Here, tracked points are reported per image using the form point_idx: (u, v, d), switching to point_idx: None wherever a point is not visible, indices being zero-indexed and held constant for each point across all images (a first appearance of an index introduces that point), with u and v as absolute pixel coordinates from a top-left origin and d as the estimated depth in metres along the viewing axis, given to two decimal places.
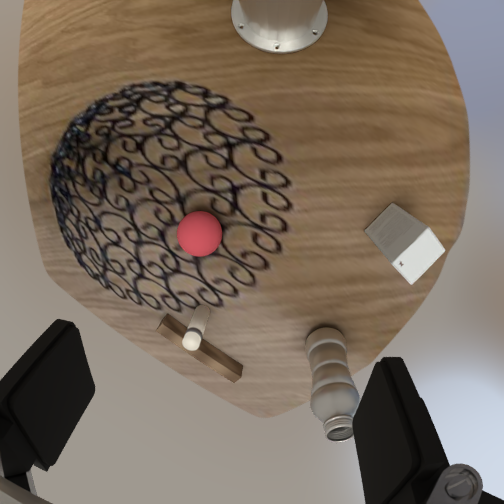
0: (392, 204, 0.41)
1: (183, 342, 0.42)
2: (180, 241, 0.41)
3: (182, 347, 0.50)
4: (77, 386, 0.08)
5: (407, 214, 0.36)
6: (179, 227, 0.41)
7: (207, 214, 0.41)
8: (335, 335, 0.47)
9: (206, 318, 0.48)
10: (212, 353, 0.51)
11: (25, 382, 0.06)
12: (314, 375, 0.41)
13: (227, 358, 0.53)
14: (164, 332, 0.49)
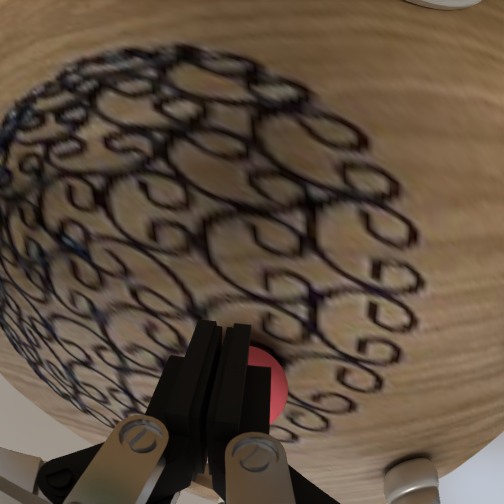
0: None
1: None
2: None
3: (208, 494, 0.27)
4: None
5: None
6: None
7: (260, 363, 0.18)
8: (429, 473, 0.24)
9: None
10: None
11: (200, 389, 0.07)
12: None
13: None
14: None
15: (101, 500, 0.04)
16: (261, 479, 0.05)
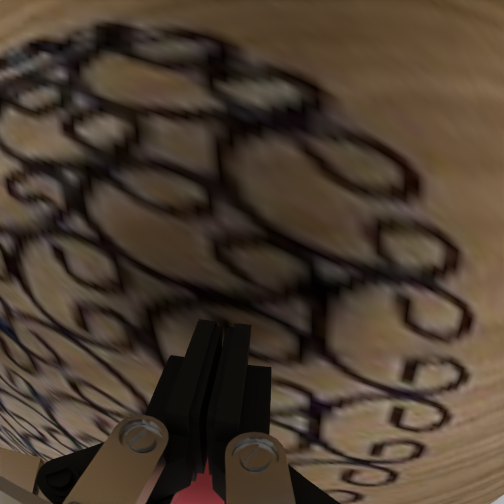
0: None
1: None
2: None
3: None
4: None
5: None
6: None
7: None
8: None
9: None
10: None
11: (200, 389, 0.07)
12: None
13: None
14: None
15: (101, 500, 0.04)
16: (261, 479, 0.05)
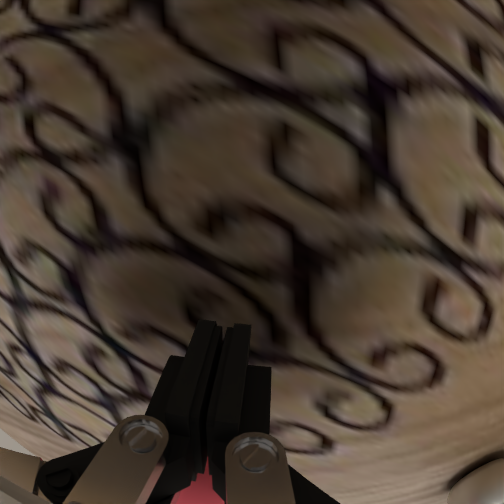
0: None
1: None
2: None
3: None
4: None
5: None
6: None
7: None
8: None
9: None
10: None
11: (200, 389, 0.07)
12: None
13: None
14: None
15: (101, 500, 0.04)
16: (261, 479, 0.05)
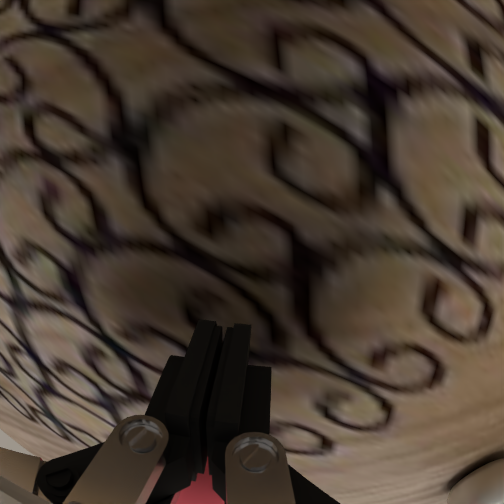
0: None
1: None
2: None
3: None
4: None
5: None
6: None
7: None
8: None
9: None
10: None
11: (200, 389, 0.07)
12: None
13: None
14: None
15: (101, 500, 0.04)
16: (261, 479, 0.05)
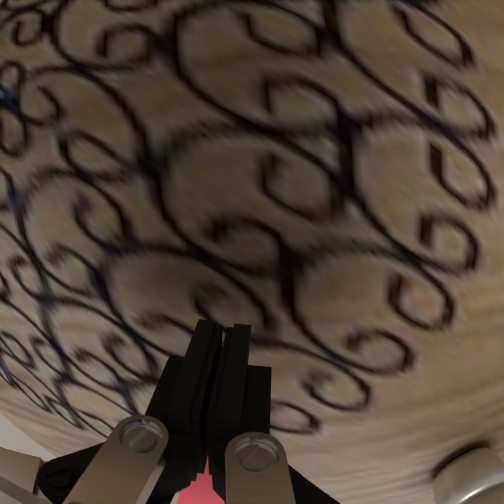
0: None
1: None
2: None
3: None
4: None
5: None
6: None
7: None
8: (497, 465, 0.14)
9: None
10: None
11: (200, 389, 0.07)
12: None
13: None
14: None
15: (101, 500, 0.04)
16: (261, 479, 0.05)
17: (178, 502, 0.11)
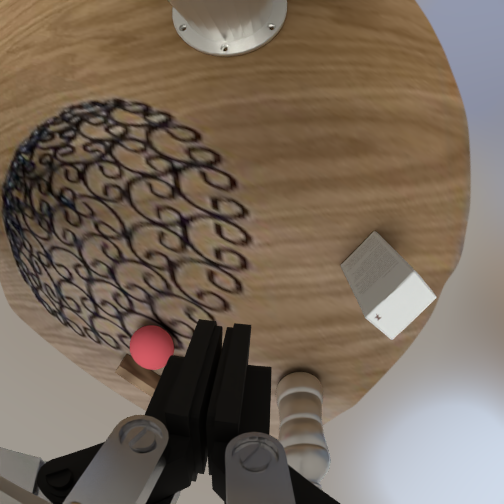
0: (374, 233, 0.35)
1: None
2: None
3: (143, 390, 0.43)
4: None
5: (390, 249, 0.30)
6: None
7: None
8: (309, 382, 0.40)
9: None
10: None
11: (200, 389, 0.07)
12: (280, 430, 0.34)
13: None
14: (123, 374, 0.42)
15: (101, 500, 0.04)
16: (261, 479, 0.05)
17: (135, 356, 0.37)
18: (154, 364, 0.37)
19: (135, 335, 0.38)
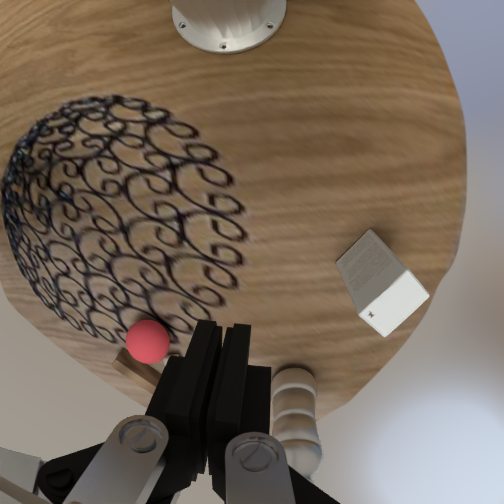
0: (369, 231, 0.35)
1: None
2: None
3: (139, 383, 0.44)
4: None
5: (384, 247, 0.30)
6: None
7: None
8: (303, 378, 0.41)
9: None
10: None
11: (200, 389, 0.07)
12: (274, 426, 0.35)
13: None
14: (119, 368, 0.43)
15: (101, 500, 0.04)
16: (261, 479, 0.05)
17: (131, 350, 0.38)
18: (150, 358, 0.38)
19: (131, 329, 0.39)
